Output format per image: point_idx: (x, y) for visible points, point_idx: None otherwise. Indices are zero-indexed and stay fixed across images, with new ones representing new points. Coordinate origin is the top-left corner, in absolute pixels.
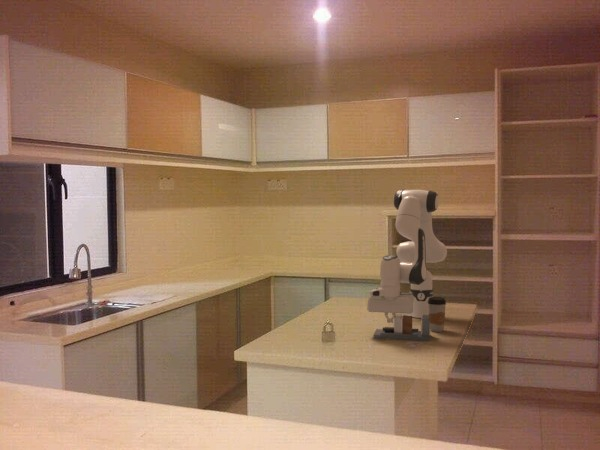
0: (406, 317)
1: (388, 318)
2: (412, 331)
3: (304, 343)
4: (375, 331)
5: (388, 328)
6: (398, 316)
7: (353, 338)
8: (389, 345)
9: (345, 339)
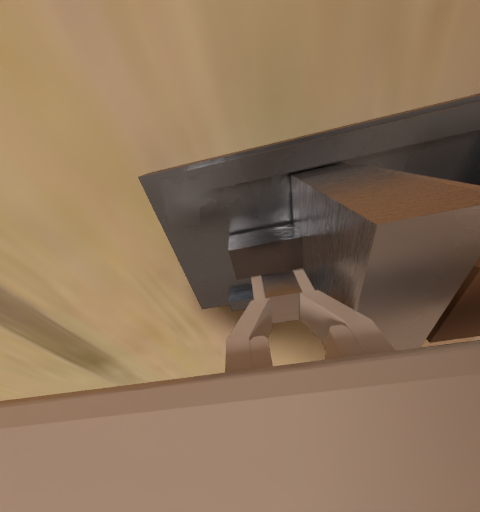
0: (473, 336)
1: (271, 323)
2: (422, 145)
3: (67, 387)
4: (173, 246)
5: (262, 274)
6: (390, 343)
7: (135, 319)
8: (287, 343)
9: (122, 336)
